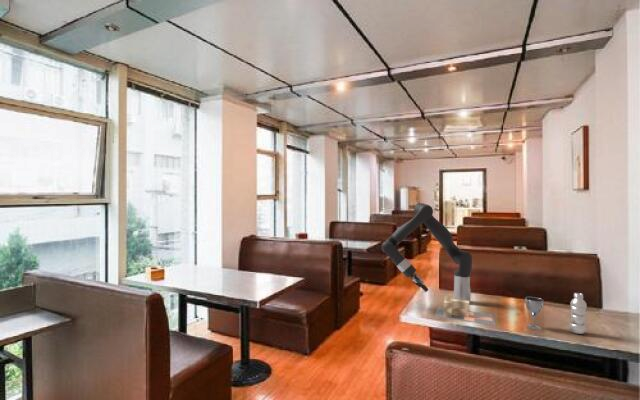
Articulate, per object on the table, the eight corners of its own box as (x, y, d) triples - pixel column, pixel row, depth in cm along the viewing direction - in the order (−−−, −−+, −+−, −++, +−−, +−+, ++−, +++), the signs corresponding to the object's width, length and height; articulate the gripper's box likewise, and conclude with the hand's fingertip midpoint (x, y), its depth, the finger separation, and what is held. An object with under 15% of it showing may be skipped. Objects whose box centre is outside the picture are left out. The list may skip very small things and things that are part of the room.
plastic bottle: (565, 330, 170) (566, 291, 170) (578, 330, 171) (579, 291, 171) (576, 335, 164) (577, 295, 164) (589, 335, 164) (590, 295, 164)
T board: (434, 318, 185) (434, 316, 185) (436, 308, 201) (436, 306, 201) (495, 327, 173) (495, 325, 173) (492, 316, 190) (492, 314, 190)
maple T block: (443, 316, 185) (444, 302, 185) (444, 308, 198) (444, 295, 198) (469, 320, 180) (469, 305, 180) (468, 312, 193) (468, 298, 193)
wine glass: (540, 325, 176) (540, 297, 176) (544, 331, 169) (545, 302, 169) (523, 323, 179) (523, 296, 179) (526, 329, 171) (527, 300, 171)
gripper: (409, 266, 192) (431, 289, 188) (412, 262, 204) (432, 284, 200) (399, 274, 194) (421, 297, 190) (403, 269, 206) (423, 291, 202)
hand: (427, 290), depth 195 cm, fingers closed
